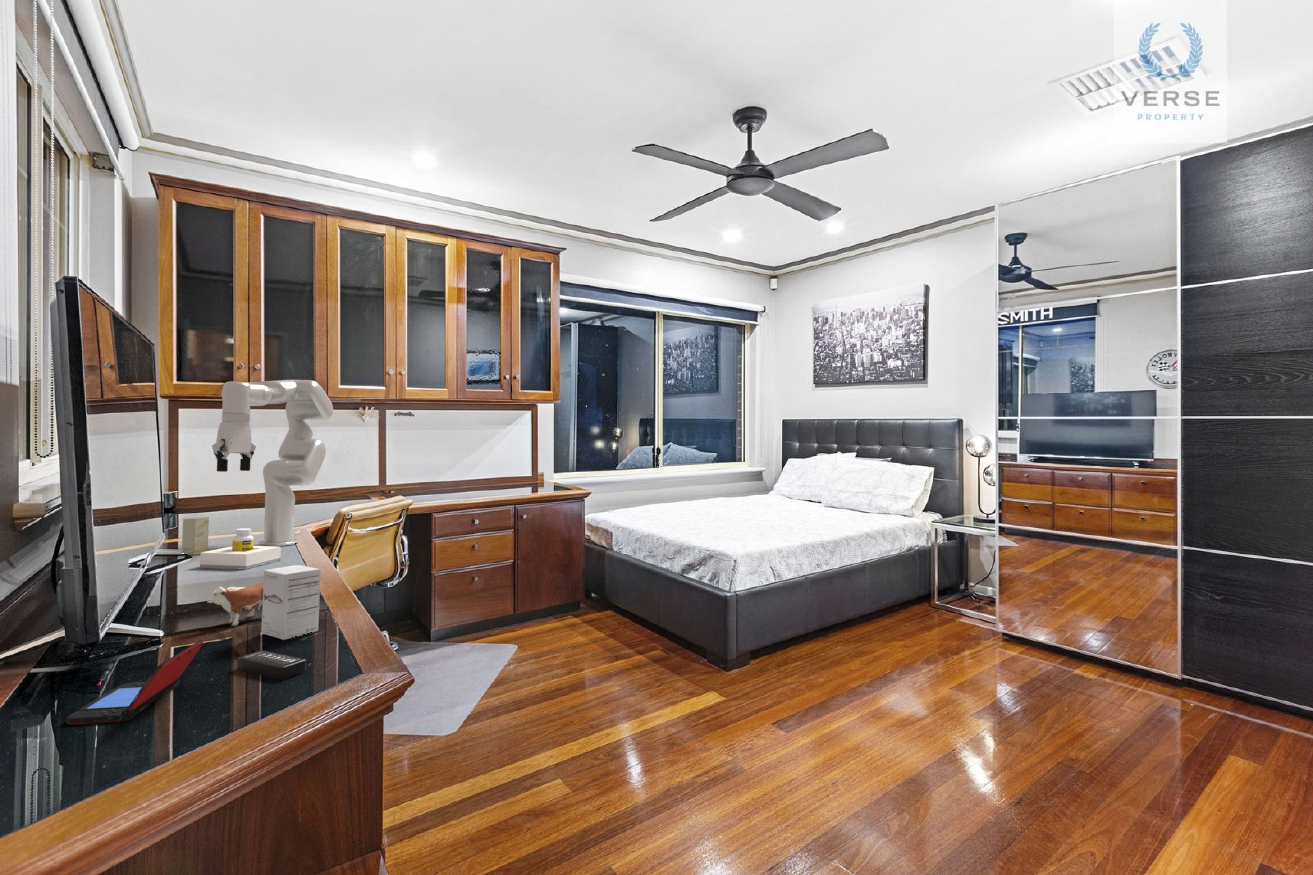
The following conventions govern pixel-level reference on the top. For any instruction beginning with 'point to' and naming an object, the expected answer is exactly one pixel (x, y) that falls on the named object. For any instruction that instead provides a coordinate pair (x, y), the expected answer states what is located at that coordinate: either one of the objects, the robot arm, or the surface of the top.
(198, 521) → the skincare box
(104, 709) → the handheld game console
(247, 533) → the supplement bottle
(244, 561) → the sleeve holder
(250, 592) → the bull figurine
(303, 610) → the supplement box
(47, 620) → the top surface
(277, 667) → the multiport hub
